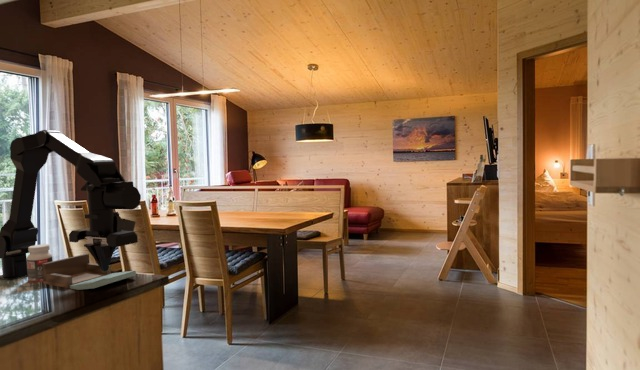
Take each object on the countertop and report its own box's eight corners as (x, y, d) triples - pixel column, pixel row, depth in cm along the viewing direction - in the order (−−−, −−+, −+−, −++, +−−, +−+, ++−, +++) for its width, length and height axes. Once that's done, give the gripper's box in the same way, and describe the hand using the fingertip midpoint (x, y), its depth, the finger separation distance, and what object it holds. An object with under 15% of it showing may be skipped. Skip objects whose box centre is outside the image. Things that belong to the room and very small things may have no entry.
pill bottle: (41, 286, 110) (38, 248, 109) (22, 285, 111) (19, 248, 111) (59, 280, 116) (56, 243, 115) (41, 279, 117) (38, 243, 116)
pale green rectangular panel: (69, 285, 105) (92, 283, 101) (113, 273, 115) (135, 270, 111) (70, 290, 105) (93, 288, 101) (113, 277, 115) (136, 275, 111)
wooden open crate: (43, 286, 110) (42, 263, 109) (87, 274, 120) (86, 253, 120) (68, 291, 105) (66, 267, 105) (111, 278, 116) (110, 256, 115)
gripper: (153, 206, 109) (157, 266, 110) (105, 204, 118) (108, 260, 119) (115, 211, 99) (119, 277, 100) (65, 209, 108) (69, 270, 109)
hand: (105, 270), depth 107 cm, fingers closed
